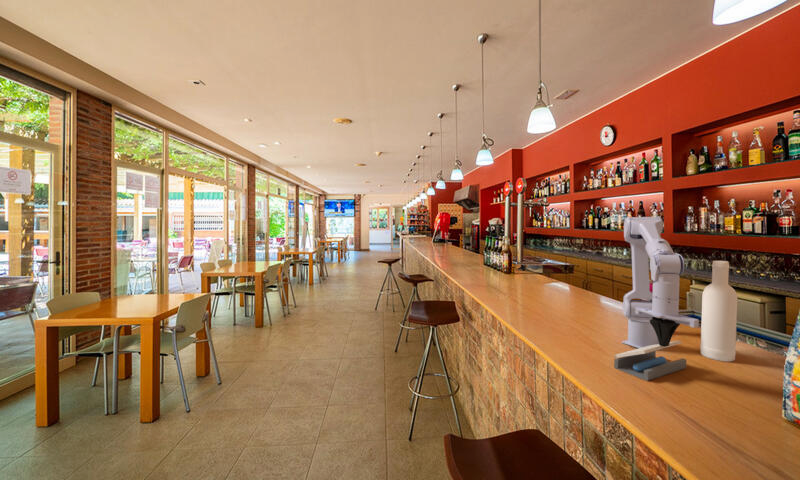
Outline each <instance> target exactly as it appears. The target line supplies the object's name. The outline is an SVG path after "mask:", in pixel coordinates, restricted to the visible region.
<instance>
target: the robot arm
mask: <svg viewBox="0 0 800 480" xmlns="http://www.w3.org/2000/svg"><path fill="white" fill-rule="evenodd" d="M663 229H664V221H663V219H662V217H661V216H627V217H626V218H625V219H624V222H623V238H624V241H625V242H626V243H628V244H629V245H630V248H631V249H630V250H631V268H632V269H631V271H632V272H631V273H632V276H631V277H632V290H630V291H628V292H627V293H625V294H624V295H623V303H622V312H623V316H624V317H625V318H627V321H628V322H627V323H628V324H627V339H626V340H621V343H622V344H625V345H627V346H630V347H631V346H632V347H634V348H635V349H639V348H642V347H646V346H650V345H656V344H659V345H660V346H664V347H666V346H669V343H670V342H671V340H672V337H673V336H674V333H675V332H676V330H677V329H678V328H679V327H680V326H681V325H683V326H684V325H685V326H689V327H691V328H693V329H695V328H698V327H699V326H700V325H699V323H700V321H699V320H700V319H698V318H694V317H690V316H687V315H683V314H681V313H679V309H680V308H679V306H680V304H679V303H680V276H682V275H683V274H684V272H685V271H684V270H685V262H684V261H685V260H684V258H683V256H682V254H679V253H678V252H674V251H673V248H672V247H671V244H670V243H669V242H668V241H667V240H666V239H664V238H662V236H661V234H662V233H663ZM649 259H650V260H649ZM650 278H651V279H650ZM649 280H651V281H652V284H653V293H651V292H650V286H649ZM642 299H648V300H650V301H643V300H642Z"/></svg>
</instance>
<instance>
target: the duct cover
mask: <svg viewBox="0 0 800 480" xmlns="http://www.w3.org/2000/svg"><path fill="white" fill-rule="evenodd" d="M681 344H682V341H681V340H676V341H670V343H669V346H666V347H664V346H660V345H659V344H656V345H650V346H646V347H642V348H635V349H631V350H628V351H624V352H621V353H617V354H614V357H615V358H614V359H617V358H620V357H625V356H632V355H639V354H645V353H649V352H652V351H659V350H662V349H666V348H670V347H673V346H677V345H681Z"/></svg>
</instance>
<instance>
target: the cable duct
mask: <svg viewBox="0 0 800 480" xmlns="http://www.w3.org/2000/svg"><path fill="white" fill-rule="evenodd" d="M656 351H657V350H656ZM656 351H652V352H649V353H645V354H639V355H632V356H625V357H618V358H614V363H613V364H614V366H613V367H614V369H616V370H618V371H622V372H624V373H626V374H628V375H631V376H634V377H636V378H639V379H640V380H643V381H646V382H649V381H653V380H656V379H658V378H662V377H664V376H667V375H670V374H673V373H676V372H679V371H683V370H685V369H687V359H686V358H679V359H676V360H672V361H669V360H666V363H664V364H661V365H658V366H655V367H651V368H648V369H645V370H642V371H635V370H634V369H633V365H634V364H637V363H640V362H644V361H647V360H650V359H654V358H657V357H658V356H657V357H656V353H657V352H656Z"/></svg>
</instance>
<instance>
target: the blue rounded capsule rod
mask: <svg viewBox="0 0 800 480" xmlns="http://www.w3.org/2000/svg"><path fill="white" fill-rule="evenodd" d="M666 361H667V359H666V358H665V357H664V356H661V355H660V356H657V358H654V359H650V360H647V361H644V362H640V363H637V364H634V365H633V369H634V370H635V371H642V370H645V369H648V368H651V367H655V366H658V365H661V364H664V363H666Z"/></svg>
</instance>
